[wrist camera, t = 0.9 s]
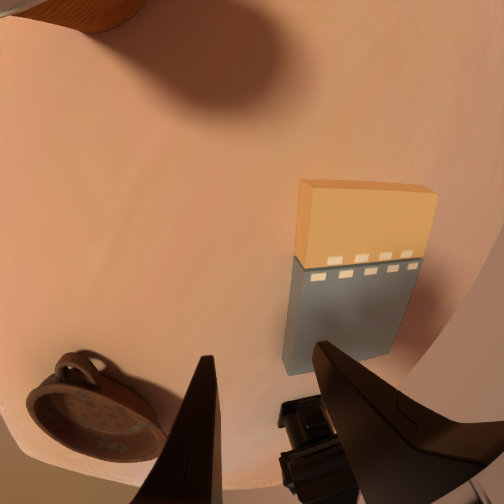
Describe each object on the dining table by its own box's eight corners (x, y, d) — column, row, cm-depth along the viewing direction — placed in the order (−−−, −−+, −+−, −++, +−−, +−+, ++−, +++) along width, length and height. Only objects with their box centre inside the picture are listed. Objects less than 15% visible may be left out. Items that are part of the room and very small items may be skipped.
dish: (162, 349, 26) (161, 390, 21) (172, 445, 35) (173, 473, 31) (11, 329, 22) (-6, 361, 17) (65, 431, 31) (61, 457, 27)
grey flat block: (378, 339, 31) (388, 354, 29) (281, 358, 29) (288, 377, 27) (407, 247, 26) (423, 260, 23) (293, 256, 23) (304, 273, 21)
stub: (408, 244, 25) (424, 257, 23) (294, 253, 23) (305, 269, 21) (420, 185, 23) (439, 194, 20) (300, 179, 21) (313, 188, 18)
